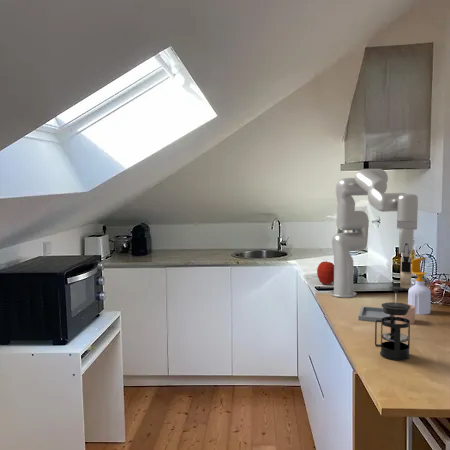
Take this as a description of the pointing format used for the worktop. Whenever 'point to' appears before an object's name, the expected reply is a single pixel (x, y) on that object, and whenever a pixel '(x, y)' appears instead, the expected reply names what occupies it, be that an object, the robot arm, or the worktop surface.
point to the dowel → (405, 277)
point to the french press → (394, 331)
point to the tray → (372, 314)
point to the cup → (408, 315)
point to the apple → (326, 272)
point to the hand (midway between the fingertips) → (405, 270)
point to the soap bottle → (419, 291)
